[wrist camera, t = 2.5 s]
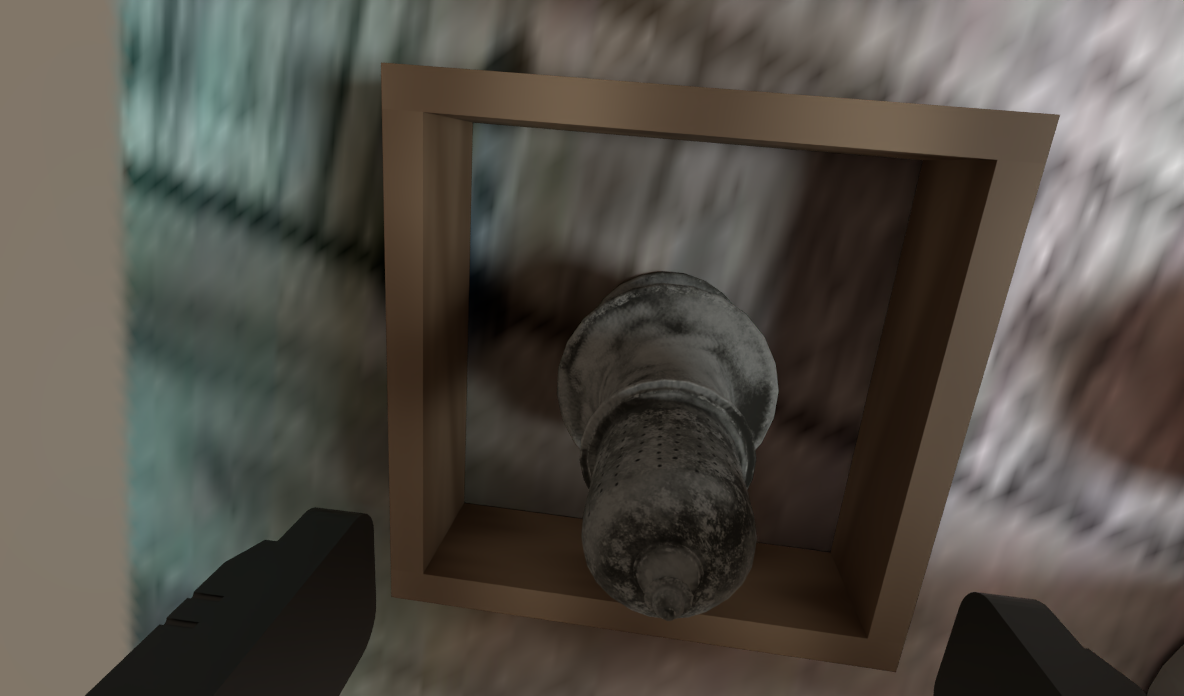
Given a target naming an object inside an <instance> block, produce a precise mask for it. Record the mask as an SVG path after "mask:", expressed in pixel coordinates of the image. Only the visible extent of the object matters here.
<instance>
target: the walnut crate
mask: <svg viewBox="0 0 1184 696" xmlns="http://www.w3.org/2000/svg"><path fill="white" fill-rule="evenodd" d="M381 86H382V137H383V189H384V240H385V291H386V342H387V393H388V445H389V496H390V547H391V597H396V598H402V599H409V600H416V601H423V602H429V603H436V604H443V605H449V606H456V607H463V608H469V609H476V610H483V611H490V612H496V613H503V614H510V615H516V616H523V617H530V618H537V619H543V620H550V621H557V622H563V623H570V624H577V625H583V626H590V627H597V628H604V629H610V630H617V631H624V632H630V633H637V634H644V635H651V636H657V637H664V638H671V639H677V640H684V641H691V642H697V643H704V644H711V645H718V646H724V647H731V648H738V649H744V650H751V651H758V652H765V653H771V654H778V655H785V656H791V657H798V658H805V659H811V660H818V661H825V662H832V663H838V664H845V665H852V666H858V667H865V668H872V669H879V670H885V671H892V672H896V670H897V667H898V663H899V660H900V657H901V653H902V650H903V646H904V643H905V640H906V636H907V633H908V629H909V626H910V623H911V619H912V616H913V612H914V609H915V606H916V602H917V599H918V595H919V592H920V589H921V585H922V582H923V578H924V575H925V572H926V568H927V565H928V561H929V558H930V555H931V551H932V548H933V544H934V541H935V538H936V534H937V531H938V527H939V524H940V521H941V517H942V514H943V510H944V507H945V504H946V500H947V497H948V494H949V490H950V487H951V483H952V480H953V477H954V473H955V470H956V466H957V463H958V460H959V456H960V453H961V449H962V446H963V443H964V439H965V436H966V432H967V429H968V426H969V422H970V419H971V415H972V412H973V409H974V405H975V402H976V398H977V395H978V392H979V388H980V385H981V381H982V378H983V375H984V371H985V368H986V364H987V361H988V358H989V354H990V351H991V348H992V344H993V341H994V337H995V334H996V331H997V327H998V324H999V320H1000V317H1001V314H1002V310H1003V307H1004V303H1005V300H1006V297H1007V293H1008V290H1009V286H1010V283H1011V280H1012V276H1013V273H1014V269H1015V266H1016V263H1017V259H1018V256H1019V252H1020V249H1021V246H1022V242H1023V239H1024V235H1025V232H1026V229H1027V225H1028V222H1029V218H1030V215H1031V212H1032V208H1033V205H1034V201H1035V198H1036V195H1037V191H1038V188H1039V185H1040V181H1041V178H1042V174H1043V171H1044V168H1045V164H1046V161H1047V157H1048V154H1049V151H1050V147H1051V144H1052V140H1053V137H1054V134H1055V130H1056V127H1057V123H1058V120H1059V117H1060V115H1055V114H1042V113H1029V112H1016V111H1003V110H990V109H977V108H964V107H951V106H938V105H925V104H912V103H899V102H886V101H873V100H860V99H847V98H834V97H821V96H808V95H795V94H782V93H769V92H756V91H743V90H730V89H717V88H704V87H691V86H678V85H665V84H652V83H639V82H626V81H613V80H600V79H587V78H574V77H561V76H548V75H535V74H522V73H509V72H496V71H483V70H470V69H457V68H444V67H431V66H418V65H405V64H392V63H381ZM473 123H485V124H497V125H509V126H520V127H532V128H544V129H556V130H568V131H580V132H592V133H604V134H616V135H628V136H639V137H651V138H663V139H675V140H687V141H699V142H711V143H723V144H735V145H747V146H758V147H770V148H782V149H794V150H806V151H818V152H830V153H842V154H854V155H866V156H878V157H889V158H901V159H913V160H923V162H922V167H921V171H920V175H919V179H918V184H917V188H916V192H915V196H914V201H913V205H912V209H911V213H910V218H909V222H908V226H907V230H906V235H905V239H904V243H903V247H902V251H901V256H900V260H899V264H898V268H897V273H896V277H895V281H894V285H893V290H892V294H891V298H890V302H889V307H888V311H887V315H886V319H885V324H884V328H883V332H882V336H881V340H880V345H879V349H878V353H877V357H876V362H875V366H874V370H873V374H872V379H871V383H870V387H869V391H868V396H867V400H866V404H865V408H864V412H863V417H862V421H861V425H860V429H859V434H858V438H857V442H856V446H855V451H854V455H853V459H852V463H851V468H850V472H849V476H848V480H847V485H846V489H845V493H844V497H843V501H842V506H841V510H840V514H839V518H838V523H837V527H836V531H835V535H834V540H833V544H832V548H831V552H823V551H815V550H808V549H801V548H793V547H786V546H778V545H771V544H764V543H756V549H755V554H754V559H753V564H752V568H751V570H750V572H749V574H748V575H747V577H746V579H745V581H744V583H743V584H742V585H741V586H740V587H739V588H738V590H737V591H736V592H735V593H734V594H733V595H732V596H731V597H730V598H729V599H727V600H725V601H724V602H722V603H720V604H719V605H717V606H715V607H714V608H712V609H710V610H709V611H707V612H704V613H701V614H698V615H694V616H691V617H687V618H677V619H673V620H672V621H666V620H664V619H662V618H657V617H649V616H647V615H644V614H641V613H638V612H635V611H633V610H630V609H629V608H627V607H626V606H624V605H623V604H621V603H619V602H618V601H616V600H615V599H613V598H612V597H610V596H609V595H608V594H607V593H606V592H605V591H604V590H603V588H602V587H601V586H600V585H599V584H598V583H597V582H596V581H595V579H594V577H593V575H592V574H591V572H590V570H589V568H588V566H587V563H586V559H585V554H584V550H583V544H582V538H581V534H582V523H583V519H579V518H571V517H564V516H556V515H549V514H542V513H534V512H527V511H519V510H512V509H505V508H497V507H490V506H482V505H475V504H468V503H464V490H465V446H466V401H467V357H468V313H469V268H470V224H471V180H472V135H473Z"/></svg>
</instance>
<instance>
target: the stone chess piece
mask: <svg viewBox="0 0 1184 696" xmlns="http://www.w3.org/2000/svg"><path fill="white" fill-rule="evenodd" d="M778 392H779V390H778V381H777V372H776V363H775V361H774V359H773V356H772V354H771V351H770V349H769V347H768V344H767V342H766V340H765V337H764V336H763V334H762V333H761V332H760V331H759V330H758V328H757V327H756V326H755V325H754V323H753V322H752V321H751V320H750V318H749V317H748V316H747V315H746V314H745V313H744V312H743V311H741V310H740V309H738V308H737V307H736V306H734V305H733V304H732V303H731V302H730V301H729V300H728V298H727V297H726V296H725V295H724V294H723V293H722V292H720V291H719V290H718V289H716V288H715V287H713V286H712V285H710V284H709V283H708V282H706V281H704V280H701V279H698V278H696V277H693V276H690V275H687V274H683V273H672V272H658V273H652V274H646V275H640V276H638V277H636V278H634V279H632V280H629V281H627V282H625V283H623V284H621V285H619V286H618V287H617V288H616V289H615V290H613V291H612V292H611V293H610V294H608V295H607V296H606V297H605V298H604V299H603V300H602V302H601V303H600V305H599V306H598V307H597V308H596V309H595V310H594V311H592V312H591V313H590V314H589V315H587V316H586V317H585V318H584V319H583V320H582V322H581V323H580V325H579V326H578V327H577V329H576V330H575V332H574V333H573V335H572V336H571V337H570V339H569V340H568V342H567V345H566V348H565V350H564V353H563V356H562V359H561V362H560V365H559V368H558V383H557V397H558V402H559V406H560V411H561V415H562V420H563V422H564V424H565V426H566V428H567V429H568V431H569V433H570V435H571V437H572V439H573V441H574V443H575V444H576V445H577V446H578V447H579V449H580V464H581V469H582V474H583V478H584V481H585V483H586V485H587V487H588V489H589V492H588V497H587V501H586V506H585V510H584V515H583V523H582V534H581V538H582V544H583V550H584V554H585V559H586V563H587V566H588V568H589V570H590V572H591V574H592V575H593V577H594V579H595V581H596V582H597V583H598V584H599V585H600V586H601V587H602V588H603V590H604V591H605V592H606V593H607V594H608V595H609V596H610V597H612V598H613V599H615V600H616V601H618V602H619V603H621V604H623V605H624V606H626V607H627V608H629V609H630V610H633V611H635V612H638V613H641V614H644V615H647V616H649V617H657V618H662V619H664V620H666V621H672V620H673V619H677V618H687V617H691V616H694V615H698V614H701V613H704V612H707V611H709V610H710V609H712V608H714V607H715V606H717V605H719V604H720V603H722V602H724V601H725V600H727V599H729V598H730V597H731V596H732V595H733V594H734V593H735V592H736V591H737V590H738V588H739V587H740V586H741V585H742V584H743V583H744V581H745V579H746V577H747V575H748V574H749V572H750V570H751V568H752V564H753V559H754V554H755V549H756V541H757V535H756V527H755V519H754V515H753V511H752V507H751V503H750V499H749V495H748V492H747V489H748V487H749V485H750V483H751V481H752V479H753V474H754V468H755V463H756V453H755V450H756V448H757V447H758V446H759V445H760V444H761V443H762V441H763V439H764V437H765V435H766V433H767V431H768V429H769V427H770V425H771V423H772V421H773V419H774V414H775V409H776V403H777V397H778Z"/></svg>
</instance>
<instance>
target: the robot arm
mask: <svg viewBox="0 0 1184 696" xmlns="http://www.w3.org/2000/svg"><path fill="white" fill-rule="evenodd" d="M375 613H376V584H375V555H374V529H373V522H372V519H371V517H370V516H369V515H368V514H363V513H355V512H348V511H340V510H332V509H324V508H311V509H310V510H308V511H307V512H306V513H305V514H304V515H303V516H302V517H301V518H300V519H299V520H298V521H297V522H296V523H295V524H294V525H293V526H292V527H291V528H290V529H289V530H288V531H287V532H286V533H285V534H284V535H283V536H282V537H281V538H280V539H279V540H278V541H270V540H264V541H262V542H260V543H259V544H257V545H255V546H253V547H251V548H250V549H248V550H246V551H244V552H242V553H241V554H239V555H237V556H235V557H234V558H232V559H230V560H228V561H226V562H225V563H224V564H223V565H221V566H220V567H219V568H218V569H217V570H216V571H215V572H214V573H213V574H212V575H211V576H210V577H209V578H208V579H207V580H206V581H205V582H204V583H203V584H202V585H201V586H199V587H198V588H197V589H196V590H195V591H194V594H193V597H192V598H191V599H190V598H187V599H186V600H185V601H184V602H183V603H182V604H181V605H180V606H178V607H177V608H176V609H175V610H174V611H173V612H172V613H171V614H170V615H169V616H168V617H167V620H166V623H165V624H164V625H159V626H157V627H156V628H155V629H154V630H153V631H152V632H151V633H150V634H149V635H148V636H147V637H146V638H145V639H144V640H143V641H142V642H141V643H140V644H139V645H138V646H137V647H135V648H134V649H133V650H132V651H131V652H130V653H129V654H128V655H127V656H126V657H125V658H124V659H123V660H122V661H121V662H120V663H119V664H118V665H117V666H116V667H114V668H113V669H112V670H111V671H110V672H109V673H108V674H107V675H106V676H105V677H104V678H103V679H102V680H101V681H100V682H99V683H98V684H97V685H96V686H95V687H94V688H93V689H92V690H90V691H89V692H88V693H87V694H86V695H85V696H339V695H340V693H341V691H342V690H343V688H344V686H345V684H346V683H347V681H348V679H349V677H350V676H351V674H352V672H353V671H354V669H355V667H356V665H357V664H358V662H359V660H360V658H361V657H362V655H363V653H364V651H365V649H366V646H367V644H368V641H369V639H370V636H371V632H372V629H373V625H374V620H375ZM934 696H1184V645H1183V646H1181V648H1180V649H1179V650H1178V651H1177V652H1176V653H1175V654H1174V655H1173V656H1172V657H1171V658H1170V659H1169V660H1168V661H1167V662H1166V663H1165V664H1164V665H1163V666H1162V668H1161V670H1160V671H1159V673H1158V674H1157V676H1156V678H1155V679H1154V681H1153V683H1152V684H1151V686H1150V688H1149V690H1148V694H1147V695H1146V694H1145V693H1144V692H1143V691H1142V689H1141V688H1140V687H1139V686H1138V685H1136V684H1135V683H1134V682H1132V681H1131V680H1130V679H1128V678H1127V677H1125V676H1124V675H1123V674H1121V673H1120V672H1119V671H1117V670H1116V669H1115V668H1113V667H1112V666H1111V665H1109V664H1108V663H1107V662H1105V661H1104V660H1103V659H1101V658H1100V657H1099V656H1097V655H1096V654H1095V653H1093V652H1092V651H1091V650H1089V649H1085V648H1083V647H1082V646H1081V644H1080V643H1079V642H1078V641H1077V640H1076V639H1075V638H1074V636H1073V635H1072V634H1071V633H1070V632H1069V631H1068V630H1067V629H1066V627H1065V626H1064V625H1063V624H1062V623H1061V622H1060V621H1059V619H1058V618H1057V617H1056V616H1055V615H1054V614H1053V613H1052V612H1051V610H1050V609H1049V608H1048V607H1047V606H1046V605H1044V604H1043V603H1041V602H1039V601H1037V600H1033V599H1025V598H1017V597H1009V596H1001V595H993V594H985V593H977V592H973V593H970V594H968V595H967V596H966V597H965V598H964V599H963V601H962V602H961V605H960V607H959V610H958V613H957V616H956V619H955V622H954V626H953V629H952V632H951V635H950V638H949V641H948V644H947V647H946V650H945V653H944V656H943V659H942V662H941V665H940V669H939V672H938V675H937V678H936V681H935V686H934Z"/></svg>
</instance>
